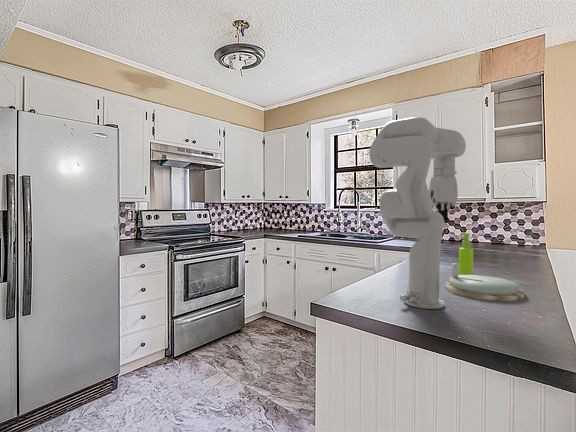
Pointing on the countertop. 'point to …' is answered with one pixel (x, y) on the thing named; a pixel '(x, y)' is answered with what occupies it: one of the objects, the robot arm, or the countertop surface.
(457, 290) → the base
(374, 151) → the robot arm
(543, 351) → the countertop surface
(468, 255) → the soap dispenser
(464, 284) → the dial
